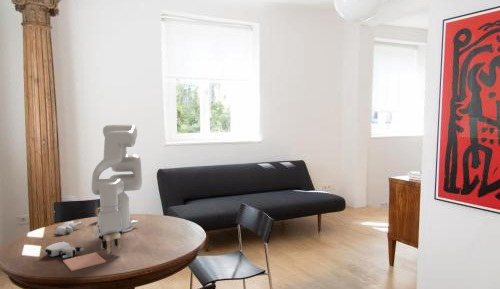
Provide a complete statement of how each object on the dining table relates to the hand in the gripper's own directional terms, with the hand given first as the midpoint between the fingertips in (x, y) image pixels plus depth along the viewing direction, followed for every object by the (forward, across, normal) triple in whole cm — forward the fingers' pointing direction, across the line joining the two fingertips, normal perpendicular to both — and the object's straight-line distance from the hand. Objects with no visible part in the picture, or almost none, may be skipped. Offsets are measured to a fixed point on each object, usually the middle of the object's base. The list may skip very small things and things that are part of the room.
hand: (110, 246), depth 170 cm
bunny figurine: (+5, +6, -50) cm, 51 cm away
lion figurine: (+5, -18, -60) cm, 63 cm away
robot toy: (+4, +17, -13) cm, 22 cm away
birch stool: (+1, 0, 0) cm, 1 cm away
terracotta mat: (+3, +12, +2) cm, 13 cm away
